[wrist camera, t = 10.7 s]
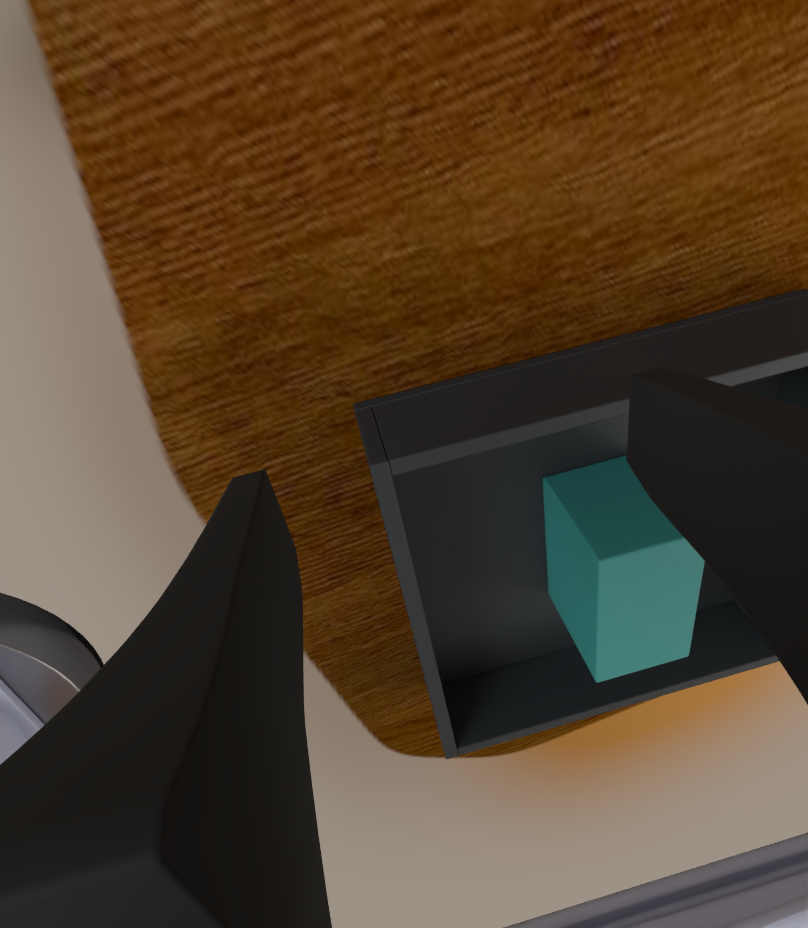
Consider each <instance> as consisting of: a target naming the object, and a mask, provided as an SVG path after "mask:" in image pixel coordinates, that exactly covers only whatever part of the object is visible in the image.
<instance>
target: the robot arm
mask: <svg viewBox="0 0 808 928" xmlns="http://www.w3.org/2000/svg"><path fill="white" fill-rule="evenodd" d="M626 461H627V462H628V464H629V465H630V467H631V469H632V470H633V472H634V474H635V475H636V477H637V479H638V480H639V482H640V483H641V485H642V486H643V488H644V489H645V491H646V492H647V494H648V495H649V497H650V498H651V500H652V501H653V502H654V503H655V504H656V506H657V507H658V508H659V509H660V510H661V512H662V513H663V514H664V515H665V516H666V517H667V519H668V520H669V521H670V522H671V523H672V524H673V526H674V527H675V528H676V529H677V530H678V531H679V532H680V534H681V535H682V536H683V537H684V538H685V539H686V540H687V541H688V543H689V544H690V545H691V546H692V547H693V548H694V549H695V551H696V552H697V553H698V554H699V555H700V556H701V557H702V558H703V560H704V561H705V562H706V563H707V564H708V565H709V566H710V568H711V569H712V570H713V571H714V572H715V573H716V574H717V575H718V577H719V578H720V579H721V580H722V581H723V582H724V584H725V585H726V586H727V587H728V589H729V590H730V591H731V592H732V594H733V595H734V596H735V597H736V599H737V600H738V601H739V603H740V604H741V605H742V607H743V608H744V610H745V611H746V612H747V614H748V615H749V617H750V618H751V620H752V621H753V622H754V624H755V625H756V627H757V628H758V630H759V631H760V632H761V634H762V635H763V637H764V638H765V640H766V641H767V642H768V644H769V645H770V647H771V648H772V650H773V651H774V653H775V654H776V656H777V658H778V659H779V661H780V662H781V664H782V665H783V667H784V668H785V670H786V671H787V673H788V674H789V676H790V677H791V679H792V680H793V682H794V683H795V685H796V686H797V688H798V689H799V691H800V693H801V694H802V696H803V698H804V699H805V701H806V703H807V704H808V409H805V408H801V407H797V406H794V405H790V404H787V403H783V402H780V401H776V400H773V399H770V398H766V397H763V396H759V395H756V394H753V393H750V392H746V391H743V390H740V389H737V388H733V387H730V386H727V385H724V384H721V383H717V382H714V381H711V380H708V379H704V378H701V377H698V376H694V375H691V374H687V373H684V372H680V371H676V370H672V369H667V368H662V367H660V368H656V369H652V370H648V371H644V372H640V373H637V374H633V375H631V384H630V403H629V421H628V439H627V457H626ZM303 693H304V687H303V601H302V588H301V580H300V573H299V566H298V559H297V553H296V547H295V545H294V542H293V540H292V537H291V535H290V532H289V529H288V527H287V524H286V522H285V519H284V517H283V514H282V511H281V509H280V506H279V504H278V501H277V498H276V496H275V493H274V491H273V488H272V486H271V483H270V480H269V478H268V475H267V473H266V470H265V469H264V470H260V471H257V472H253V473H249V474H245V475H241V476H237V477H233V479H232V480H231V482H230V483H229V485H228V487H227V489H226V490H225V492H224V494H223V496H222V498H221V499H220V501H219V503H218V505H217V507H216V509H215V510H214V512H213V514H212V516H211V518H210V519H209V521H208V523H207V525H206V527H205V528H204V530H203V532H202V534H201V535H200V537H199V538H198V540H197V542H196V544H195V545H194V547H193V549H192V550H191V552H190V554H189V555H188V557H187V559H186V560H185V562H184V563H183V565H182V566H181V568H180V569H179V571H178V572H177V574H176V575H175V577H174V578H173V580H172V581H171V583H170V585H169V586H168V587H167V589H166V590H165V592H164V593H163V595H162V596H161V597H160V599H159V600H158V602H157V603H156V604H155V605H154V607H153V608H152V610H151V611H150V612H149V613H148V615H147V616H146V617H145V618H144V620H143V621H142V622H141V623H140V625H139V626H138V627H137V628H136V629H135V631H134V632H133V633H132V634H131V636H130V637H129V638H128V639H127V640H126V641H125V643H124V644H123V645H122V646H121V647H120V648H119V650H118V651H117V652H116V653H115V654H114V655H113V656H112V657H111V658H110V659H109V660H108V661H107V662H106V663H105V664H104V666H103V667H102V668H101V669H100V670H99V671H98V672H97V673H96V674H95V675H94V676H93V677H92V678H91V679H90V680H89V682H88V683H87V684H86V685H85V686H84V687H83V688H82V689H81V690H80V691H79V692H78V693H77V694H76V695H75V696H74V697H73V698H72V699H71V700H70V701H69V702H68V703H67V704H66V705H65V706H64V707H63V708H62V709H61V710H60V711H59V712H58V713H57V714H56V715H55V716H54V717H53V718H51V719H50V720H49V721H48V722H47V723H46V724H45V725H44V724H43V723H42V722H41V721H40V719H39V718H38V717H37V716H36V715H35V714H34V713H33V712H32V711H31V710H30V709H29V708H28V707H27V706H26V705H25V704H24V703H23V702H22V701H21V700H20V699H19V698H18V697H17V696H16V695H15V694H14V693H13V692H12V690H11V689H10V688H9V687H8V686H7V685H6V684H5V683H4V682H3V681H2V680H1V679H0V928H332V925H331V919H330V912H329V906H328V899H327V892H326V885H325V879H324V871H323V864H322V857H321V850H320V843H319V836H318V828H317V820H316V812H315V805H314V797H313V789H312V781H311V773H310V764H309V755H308V747H307V738H306V730H305V716H304V694H303ZM504 928H808V833H805V834H802V835H799V836H796V837H793V838H790V839H786V840H783V841H780V842H777V843H774V844H770V845H767V846H764V847H760V848H758V849H754V850H751V851H748V852H745V853H741V854H738V855H735V856H732V857H728V858H725V859H722V860H719V861H716V862H713V863H709V864H706V865H703V866H700V867H696V868H693V869H690V870H687V871H684V872H680V873H677V874H674V875H671V876H668V877H664V878H661V879H658V880H655V881H652V882H648V883H645V884H642V885H639V886H636V887H632V888H629V889H626V890H623V891H620V892H616V893H613V894H610V895H607V896H604V897H601V898H597V899H594V900H591V901H588V902H584V903H581V904H578V905H575V906H572V907H568V908H565V909H562V910H559V911H556V912H552V913H549V914H546V915H543V916H540V917H537V918H533V919H530V920H527V921H524V922H520V923H517V924H514V925H511V926H508V927H504Z"/></svg>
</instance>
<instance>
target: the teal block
mask: <svg viewBox="0 0 808 928" xmlns="http://www.w3.org/2000/svg"><path fill="white" fill-rule="evenodd" d="M626 457H627V455H625V456H621V457H618V458H614V459H610V460H606V461H603V462H599V463H595V464H591V465H588V466H584V467H580V468H577V469H573V470H569V471H565V472H562V473H558V474H554V475H550V476H547V477H544V478H543V495H544V515H545V535H546V555H547V574H548V594H549V596H550V598H551V599H552V601H553V603H554V605H555V607H556V609H557V611H558V612H559V614H560V616H561V618H562V620H563V622H564V624H565V625H566V627H567V629H568V631H569V633H570V635H571V637H572V639H573V640H574V642H575V644H576V646H577V648H578V650H579V652H580V653H581V655H582V657H583V659H584V661H585V663H586V665H587V666H588V668H589V670H590V672H591V674H592V676H593V678H594V679H595V681H596V682H597V683H598V682H602V681H605V680H609V679H612V678H616V677H619V676H622V675H626V674H629V673H633V672H636V671H640V670H643V669H647V668H650V667H653V666H657V665H660V664H664V663H667V662H671V661H674V660H678V659H681V658H684V657H687V656H689V652H690V646H691V640H692V634H693V628H694V622H695V616H696V610H697V604H698V599H699V593H700V587H701V581H702V575H703V569H704V563H705V561H704V560H703V558H702V557H701V556H700V555H699V554H698V553H697V552H696V551H695V549H694V548H693V547H692V546H691V545H690V544H689V543H688V541H687V540H686V539H685V538H684V537H683V536H682V535H681V534H680V532H679V531H678V530H677V529H676V528H675V527H674V526H673V524H672V523H671V522H670V521H669V520H668V519H667V517H666V516H665V515H664V514H663V513H662V512H661V510H660V509H659V508H658V507H657V506H656V504H655V503H654V502H653V501H652V500H651V498H650V497H649V495H648V494H647V492H646V491H645V489H644V488H643V486H642V485H641V483H640V482H639V480H638V479H637V477H636V475H635V474H634V472H633V470H632V469H631V467H630V465H629V464H628V462H627V461H626Z"/></svg>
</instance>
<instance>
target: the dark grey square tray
mask: <svg viewBox="0 0 808 928" xmlns="http://www.w3.org/2000/svg"><path fill="white" fill-rule="evenodd" d="M660 367H662V368H667V369H672V370H676V371H680V372H684V373H687V374H691V375H694V376H698V377H701V378H704V379H708V380H711V381H714V382H717V383H721V384H724V385H727V386H730V387H733V388H737V389H740V390H743V391H746V392H750V393H753V394H756V395H759V396H763V397H766V398H770V399H773V400H776V401H780V402H783V403H787V404H790V405H794V406H797V407H801V408H805V409H808V290H807V289H801V290H797V291H793V292H789V293H786V294H782V295H778V296H774V297H770V298H766V299H762V300H758V301H754V302H750V303H746V304H743V305H739V306H735V307H731V308H727V309H723V310H719V311H715V312H711V313H707V314H703V315H699V316H696V317H692V318H688V319H684V320H680V321H676V322H672V323H668V324H664V325H660V326H656V327H653V328H649V329H645V330H641V331H637V332H633V333H629V334H625V335H621V336H617V337H613V338H609V339H606V340H602V341H598V342H594V343H590V344H586V345H582V346H578V347H574V348H570V349H566V350H563V351H559V352H555V353H551V354H547V355H543V356H539V357H535V358H531V359H527V360H523V361H520V362H516V363H512V364H508V365H504V366H500V367H496V368H492V369H488V370H484V371H480V372H476V373H473V374H469V375H465V376H461V377H457V378H453V379H449V380H445V381H441V382H437V383H433V384H430V385H426V386H422V387H418V388H414V389H410V390H406V391H402V392H398V393H394V394H390V395H386V396H383V397H379V398H375V399H371V400H367V401H363V402H359V403H355V404H353V407H354V411H355V415H356V418H357V422H358V426H359V430H360V434H361V437H362V441H363V445H364V449H365V453H366V456H367V460H368V464H369V468H370V472H371V476H372V479H373V483H374V487H375V491H376V495H377V498H378V502H379V506H380V510H381V514H382V517H383V521H384V525H385V529H386V533H387V537H388V540H389V544H390V548H391V552H392V556H393V559H394V563H395V567H396V571H397V575H398V579H399V582H400V586H401V590H402V594H403V598H404V601H405V605H406V609H407V613H408V617H409V620H410V624H411V628H412V632H413V636H414V640H415V643H416V647H417V651H418V655H419V659H420V662H421V666H422V670H423V674H424V678H425V681H426V685H427V689H428V693H429V697H430V700H431V704H432V708H433V712H434V716H435V719H436V723H437V727H438V731H439V735H440V738H441V742H442V746H443V750H444V754H445V757H446V759H449V758H452V757H456V756H458V755H462V754H465V753H469V752H472V751H475V750H479V749H482V748H486V747H489V746H492V745H496V744H499V743H503V742H506V741H509V740H513V739H516V738H520V737H523V736H526V735H530V734H533V733H537V732H540V731H543V730H547V729H550V728H554V727H557V726H560V725H564V724H567V723H571V722H574V721H577V720H581V719H584V718H588V717H591V716H594V715H598V714H601V713H605V712H608V711H611V710H615V709H618V708H622V707H625V706H628V705H632V704H635V703H639V702H642V701H645V700H649V699H652V698H656V697H659V696H662V695H666V694H669V693H673V692H676V691H679V690H683V689H686V688H689V687H693V686H696V685H700V684H703V683H707V682H710V681H713V680H717V679H720V678H724V677H727V676H730V675H734V674H737V673H741V672H744V671H747V670H751V669H754V668H758V667H761V666H764V665H768V664H771V663H775V662H777V661H779V659H778V658H777V656H776V654H775V653H774V651H773V650H772V648H771V647H770V645H769V644H768V642H767V641H766V640H765V638H764V637H763V635H762V634H761V632H760V631H759V630H758V628H757V627H756V625H755V624H754V622H753V621H752V620H751V618H750V617H749V615H748V614H747V612H746V611H745V610H744V608H743V607H742V605H741V604H740V603H739V601H738V600H737V599H736V597H735V596H734V595H733V594H732V592H731V591H730V590H729V589H728V587H727V586H726V585H725V584H724V582H723V581H722V580H721V579H720V578H719V577H718V575H717V574H716V573H715V572H714V571H713V570H712V569H711V568H710V566H709V565H708V564H707V563H706V562H705V563H704V569H703V575H702V581H701V587H700V593H699V599H698V604H697V610H696V616H695V622H694V628H693V634H692V640H691V646H690V652H689V656H687V657H684V658H681V659H678V660H674V661H671V662H667V663H664V664H660V665H657V666H653V667H650V668H647V669H643V670H640V671H636V672H633V673H629V674H626V675H622V676H619V677H616V678H612V679H609V680H605V681H602V682H598V683H597V682H596V681H595V679H594V678H593V676H592V674H591V672H590V670H589V668H588V666H587V665H586V663H585V661H584V659H583V657H582V655H581V653H580V652H579V650H578V648H577V646H576V644H575V642H574V640H573V639H572V637H571V635H570V633H569V631H568V629H567V627H566V625H565V624H564V622H563V620H562V618H561V616H560V614H559V612H558V611H557V609H556V607H555V605H554V603H553V601H552V599H551V598H550V596H549V594H548V574H547V555H546V535H545V515H544V495H543V478H544V477H547V476H550V475H554V474H558V473H562V472H565V471H569V470H573V469H577V468H580V467H584V466H588V465H591V464H595V463H599V462H603V461H606V460H610V459H614V458H618V457H621V456H625V455H627V439H628V421H629V403H630V384H631V375H633V374H637V373H640V372H644V371H648V370H652V369H656V368H660Z"/></svg>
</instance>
